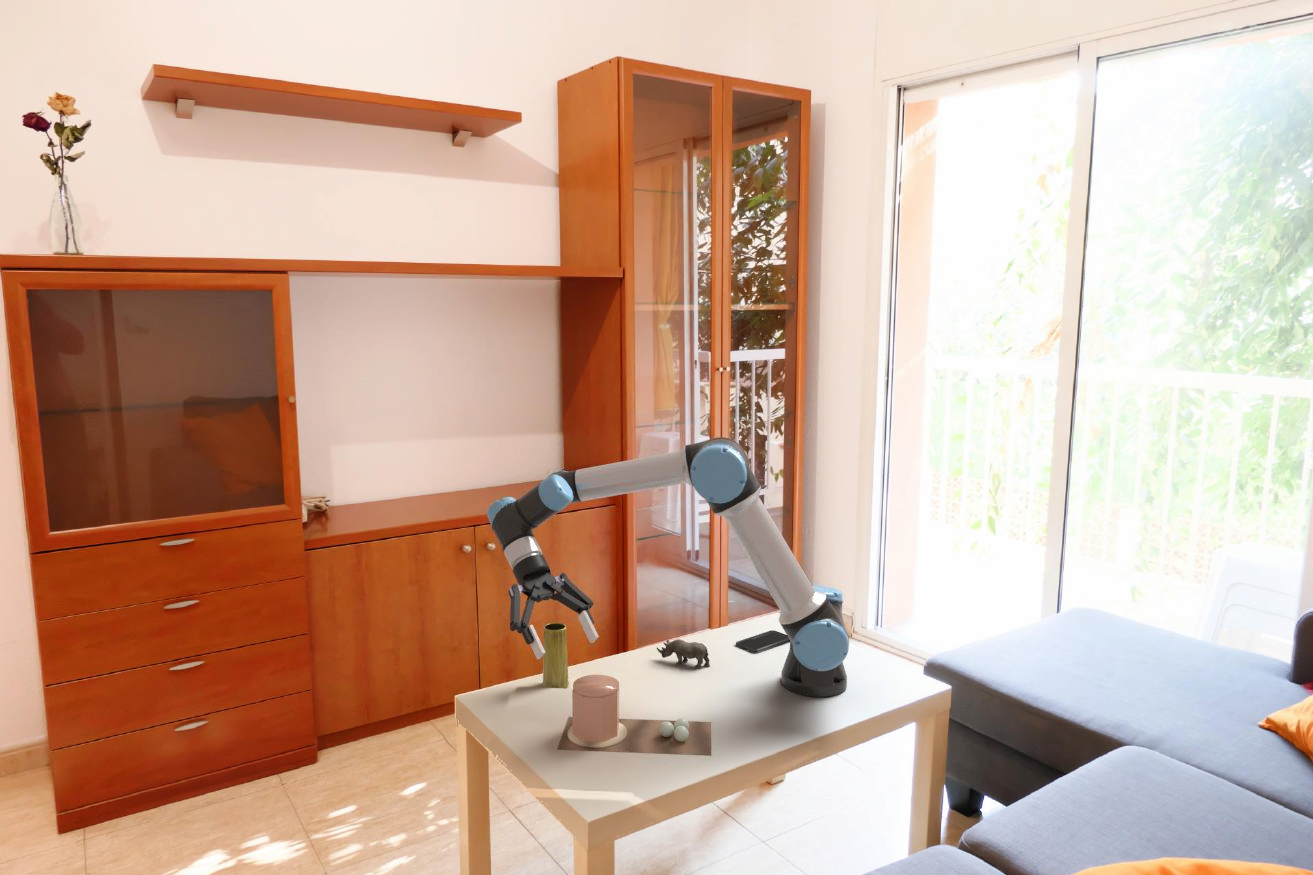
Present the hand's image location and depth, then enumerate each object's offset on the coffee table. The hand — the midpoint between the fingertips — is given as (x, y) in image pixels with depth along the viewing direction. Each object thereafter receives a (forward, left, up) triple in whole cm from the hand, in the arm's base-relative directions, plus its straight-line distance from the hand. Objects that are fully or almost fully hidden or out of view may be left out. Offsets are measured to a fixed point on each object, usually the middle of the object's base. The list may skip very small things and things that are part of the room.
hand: (568, 648), depth 181 cm
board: (-15, +7, -16) cm, 23 cm away
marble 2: (-24, +5, -14) cm, 28 cm away
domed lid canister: (-7, +6, -15) cm, 17 cm away
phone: (-44, -49, -17) cm, 68 cm away
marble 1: (-21, +7, -14) cm, 26 cm away
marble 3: (-24, +8, -14) cm, 29 cm away
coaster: (-7, +7, -15) cm, 18 cm away
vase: (+6, -18, -17) cm, 26 cm away
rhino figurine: (-23, -34, -17) cm, 44 cm away
